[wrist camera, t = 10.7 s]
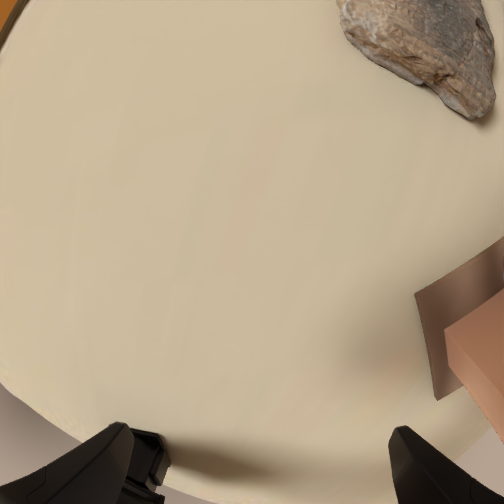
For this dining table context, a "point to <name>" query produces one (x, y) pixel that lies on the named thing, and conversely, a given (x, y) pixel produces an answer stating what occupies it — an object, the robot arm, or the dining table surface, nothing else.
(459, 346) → the terracotta slab
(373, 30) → the jagged gray stone
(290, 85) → the dining table surface
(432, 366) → the walnut shelf
